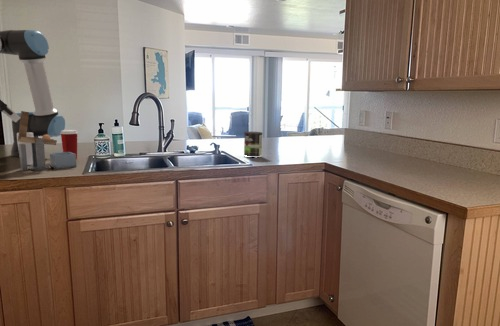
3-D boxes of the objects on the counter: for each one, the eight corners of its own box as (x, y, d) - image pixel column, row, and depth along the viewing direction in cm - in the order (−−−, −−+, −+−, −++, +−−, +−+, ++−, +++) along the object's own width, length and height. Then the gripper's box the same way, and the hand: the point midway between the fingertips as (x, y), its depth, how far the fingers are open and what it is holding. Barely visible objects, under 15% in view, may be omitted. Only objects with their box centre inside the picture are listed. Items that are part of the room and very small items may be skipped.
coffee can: (252, 158, 208) (252, 133, 206) (240, 156, 215) (240, 132, 213) (265, 157, 215) (266, 132, 212) (253, 155, 222) (253, 131, 220)
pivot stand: (29, 168, 168) (26, 138, 166) (43, 166, 172) (41, 137, 170) (34, 171, 161) (32, 139, 159) (49, 169, 166) (47, 139, 163)
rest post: (20, 169, 163) (18, 143, 162) (25, 169, 165) (23, 143, 163) (22, 171, 161) (20, 144, 159) (27, 170, 162) (25, 144, 160)
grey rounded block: (50, 166, 174) (49, 153, 173) (70, 164, 180) (69, 151, 179) (56, 168, 168) (55, 155, 167) (76, 166, 173) (75, 153, 172)
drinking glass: (20, 163, 178) (18, 132, 176) (36, 163, 181) (34, 132, 178) (17, 166, 172) (14, 133, 169) (34, 165, 174) (32, 133, 172)
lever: (17, 141, 162) (20, 110, 161) (52, 144, 172) (55, 115, 171) (20, 142, 158) (23, 111, 157) (56, 145, 168) (59, 116, 167)
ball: (41, 134, 167) (49, 134, 169) (41, 141, 167) (49, 141, 169) (43, 134, 165) (51, 134, 167) (43, 141, 165) (51, 142, 167)
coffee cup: (82, 158, 196) (81, 130, 194) (73, 161, 188) (72, 131, 186) (67, 158, 197) (65, 129, 194) (58, 160, 189) (56, 130, 186)
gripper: (-45, 83, 148) (7, 125, 162) (-41, 82, 139) (14, 127, 152) (-29, 71, 151) (21, 113, 165) (-24, 69, 141) (28, 114, 155)
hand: (18, 119), depth 158 cm, fingers closed
